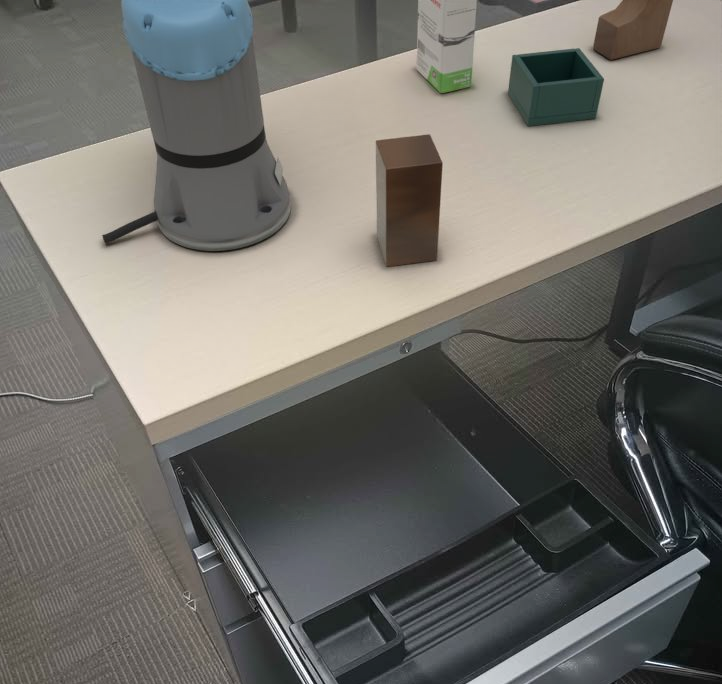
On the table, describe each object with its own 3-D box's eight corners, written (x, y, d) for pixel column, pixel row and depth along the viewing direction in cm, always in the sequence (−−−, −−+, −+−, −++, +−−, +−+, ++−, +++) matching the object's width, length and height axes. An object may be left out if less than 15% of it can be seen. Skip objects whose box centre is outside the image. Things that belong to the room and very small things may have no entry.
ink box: (472, 87, 105) (480, -9, 95) (439, 94, 104) (444, -2, 94) (446, 62, 110) (451, -32, 100) (414, 69, 109) (416, -26, 99)
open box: (527, 126, 98) (533, 86, 94) (507, 93, 103) (512, 54, 99) (595, 118, 98) (604, 78, 94) (572, 86, 104) (579, 47, 100)
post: (386, 267, 80) (385, 169, 72) (376, 237, 84) (375, 139, 75) (437, 260, 81) (443, 162, 72) (425, 231, 84) (430, 133, 75)
